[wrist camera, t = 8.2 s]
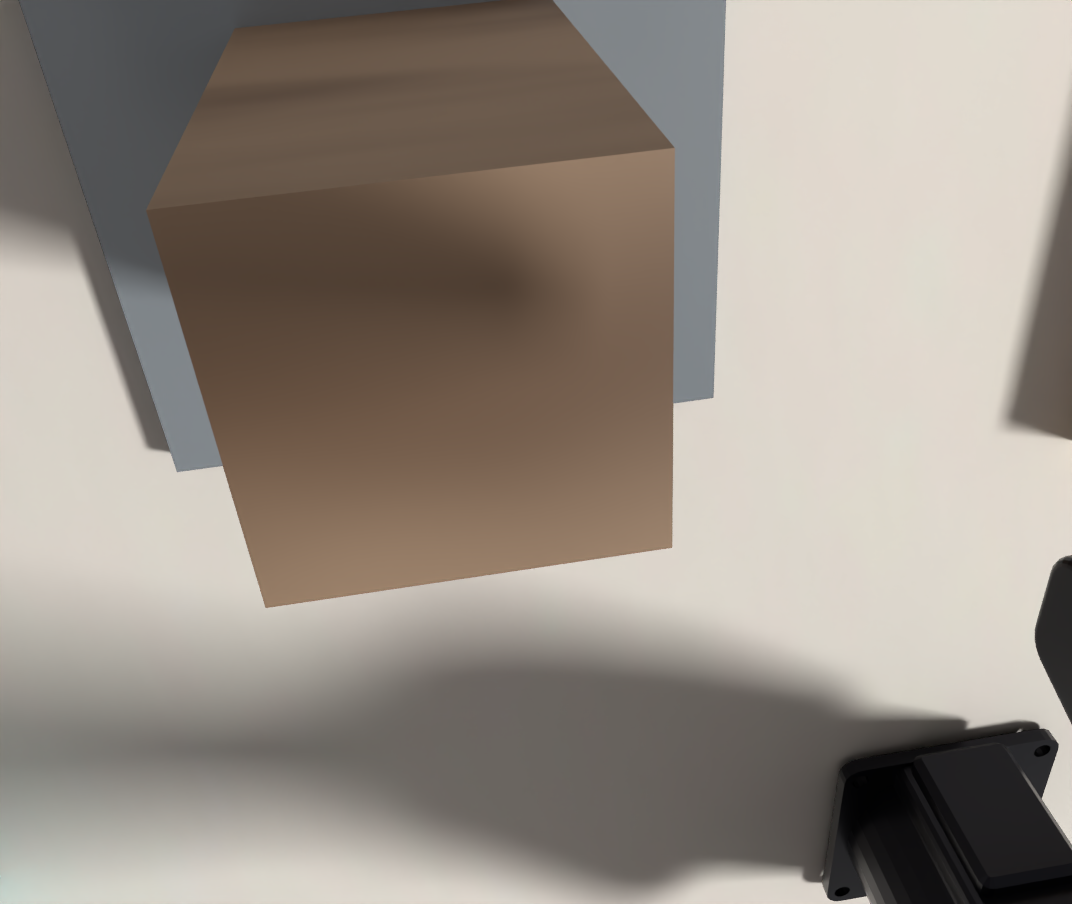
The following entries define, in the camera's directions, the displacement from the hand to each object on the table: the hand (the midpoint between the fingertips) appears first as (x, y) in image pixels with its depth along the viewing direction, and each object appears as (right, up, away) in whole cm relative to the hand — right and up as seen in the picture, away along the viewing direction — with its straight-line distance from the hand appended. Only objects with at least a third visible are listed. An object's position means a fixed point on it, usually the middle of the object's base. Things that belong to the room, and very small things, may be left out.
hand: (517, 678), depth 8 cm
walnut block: (-2, +7, +9) cm, 12 cm away
